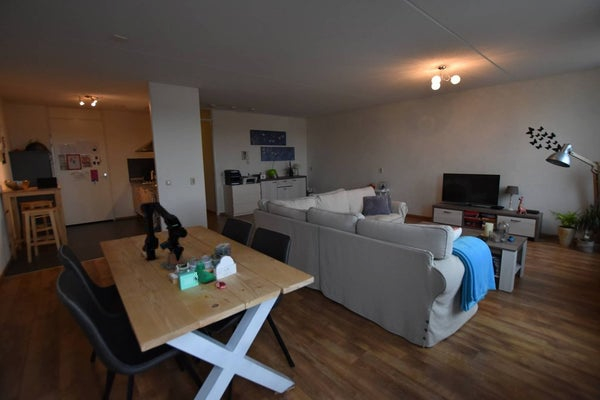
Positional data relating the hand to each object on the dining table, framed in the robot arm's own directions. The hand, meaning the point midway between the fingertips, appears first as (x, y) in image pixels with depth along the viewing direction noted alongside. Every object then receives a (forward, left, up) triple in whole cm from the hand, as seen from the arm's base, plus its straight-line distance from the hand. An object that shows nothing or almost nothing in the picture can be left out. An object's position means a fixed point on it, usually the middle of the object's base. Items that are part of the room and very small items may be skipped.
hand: (175, 259), depth 186 cm
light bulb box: (+16, +26, -4) cm, 31 cm away
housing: (0, 0, -2) cm, 2 cm away
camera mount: (+36, +5, -4) cm, 37 cm away
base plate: (0, 0, -4) cm, 4 cm away
